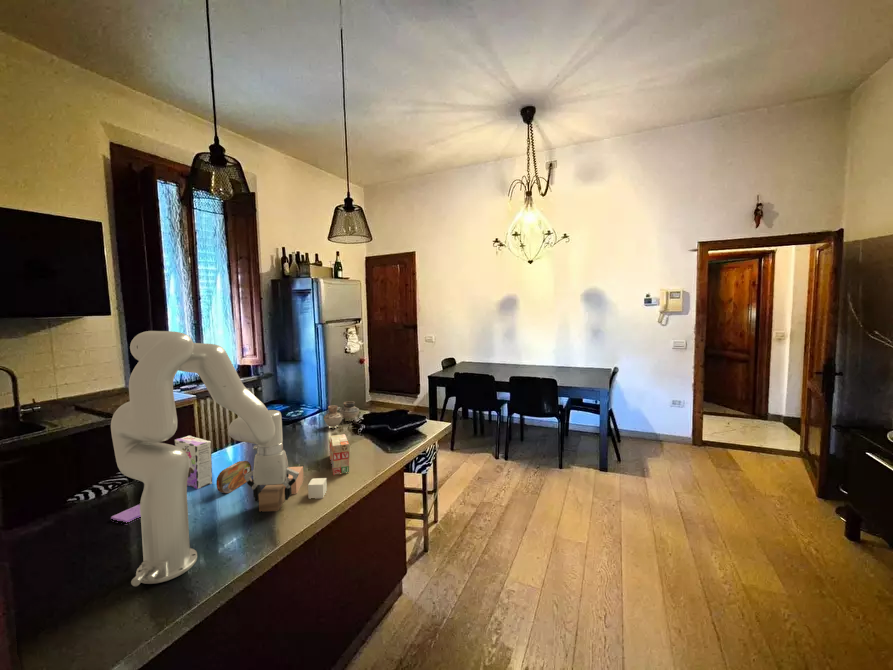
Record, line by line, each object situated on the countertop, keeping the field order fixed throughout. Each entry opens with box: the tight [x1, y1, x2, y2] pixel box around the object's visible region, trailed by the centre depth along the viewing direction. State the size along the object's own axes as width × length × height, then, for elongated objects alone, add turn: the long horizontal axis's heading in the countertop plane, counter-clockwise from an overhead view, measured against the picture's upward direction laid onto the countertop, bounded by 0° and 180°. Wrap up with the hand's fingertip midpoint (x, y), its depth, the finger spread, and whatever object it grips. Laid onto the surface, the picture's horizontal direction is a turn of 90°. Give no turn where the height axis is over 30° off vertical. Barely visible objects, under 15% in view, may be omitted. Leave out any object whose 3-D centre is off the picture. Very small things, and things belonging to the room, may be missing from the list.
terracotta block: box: [279, 466, 304, 495], centre depth 141 cm, size 10×10×6 cm
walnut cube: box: [258, 485, 285, 512], centre depth 128 cm, size 6×6×6 cm
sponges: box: [110, 503, 141, 523], centre depth 124 cm, size 7×13×2 cm, turn 161°
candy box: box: [174, 435, 213, 490], centre depth 145 cm, size 14×6×16 cm, turn 62°
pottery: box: [323, 400, 360, 426], centre depth 218 cm, size 11×25×12 cm, turn 158°
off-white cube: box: [307, 477, 328, 500], centre depth 136 cm, size 5×5×5 cm
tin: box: [215, 460, 253, 494], centre depth 141 cm, size 15×3×8 cm, turn 168°
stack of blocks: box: [328, 433, 350, 476], centre depth 162 cm, size 21×6×12 cm, turn 21°
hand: (272, 498), depth 128 cm, fingers open, 9 cm apart
